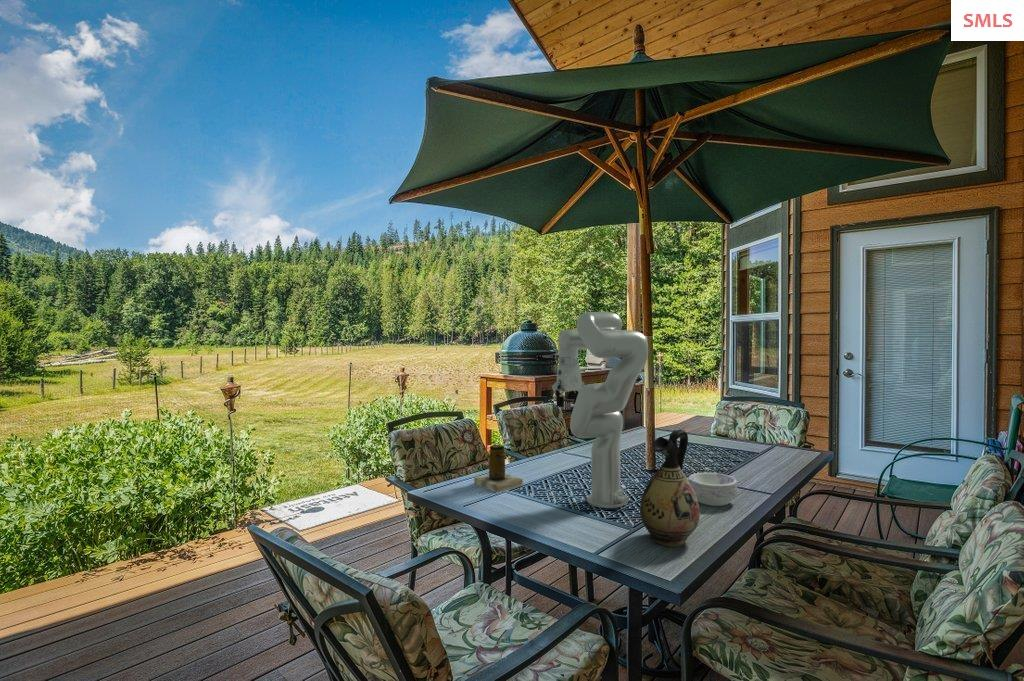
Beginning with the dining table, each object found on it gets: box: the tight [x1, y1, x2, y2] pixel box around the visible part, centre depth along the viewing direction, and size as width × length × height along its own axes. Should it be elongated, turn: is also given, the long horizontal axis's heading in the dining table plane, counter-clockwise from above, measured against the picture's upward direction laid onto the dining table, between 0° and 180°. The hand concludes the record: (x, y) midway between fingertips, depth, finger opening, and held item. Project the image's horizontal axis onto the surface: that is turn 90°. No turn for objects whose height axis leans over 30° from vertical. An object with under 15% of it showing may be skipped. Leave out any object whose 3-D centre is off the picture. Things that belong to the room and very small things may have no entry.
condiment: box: [484, 444, 513, 482], centre depth 186 cm, size 7×8×12 cm
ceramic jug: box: [639, 429, 700, 548], centre depth 136 cm, size 17×15×30 cm
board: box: [473, 473, 524, 493], centre depth 186 cm, size 14×12×2 cm
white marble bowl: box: [687, 472, 739, 507], centre depth 166 cm, size 15×15×8 cm
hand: (568, 405), depth 195 cm, fingers open, 9 cm apart
